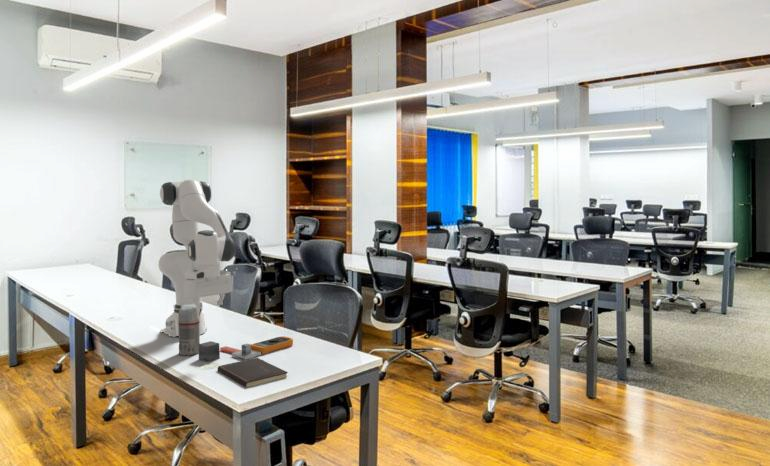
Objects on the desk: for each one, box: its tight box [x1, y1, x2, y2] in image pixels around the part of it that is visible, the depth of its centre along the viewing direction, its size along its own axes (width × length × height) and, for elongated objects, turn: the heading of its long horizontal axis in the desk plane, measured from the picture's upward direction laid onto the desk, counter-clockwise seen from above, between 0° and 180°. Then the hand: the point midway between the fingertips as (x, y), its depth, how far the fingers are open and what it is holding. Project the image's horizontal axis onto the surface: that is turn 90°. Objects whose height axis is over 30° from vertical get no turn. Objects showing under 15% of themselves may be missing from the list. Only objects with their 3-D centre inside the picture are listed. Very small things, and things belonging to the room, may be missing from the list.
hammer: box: [219, 343, 262, 361], centre depth 213 cm, size 19×8×5 cm, turn 54°
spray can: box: [178, 304, 201, 357], centre depth 213 cm, size 8×8×20 cm
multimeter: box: [251, 335, 294, 355], centre depth 221 cm, size 9×18×3 cm, turn 143°
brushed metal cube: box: [198, 340, 221, 363], centre depth 206 cm, size 6×6×6 cm
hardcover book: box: [217, 357, 289, 388], centre depth 188 cm, size 16×23×2 cm
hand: (209, 307), depth 205 cm, fingers open, 8 cm apart
